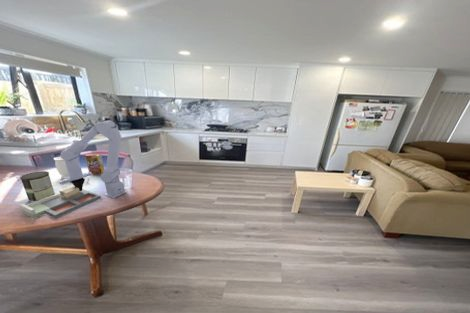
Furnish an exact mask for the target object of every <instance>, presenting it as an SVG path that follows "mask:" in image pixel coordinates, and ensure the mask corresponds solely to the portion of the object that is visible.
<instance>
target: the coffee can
mask: <svg viewBox="0 0 470 313" xmlns="http://www.w3.org/2000/svg"><path fill="white" fill-rule="evenodd" d="M19 179H20V181H21V183H22V186H23V189H24V191H25V193H26V196H27V199H28V201H29V202H30V203H32V202H35V201H38V200H41V199H44V198H47V197H50V196H52V195H55V194H56V192H55V189H54V186H53V184H52V180H51V176H50V172H49V171H44V170H43V171H42V170H40V171H34V172H29V173H26V174H23V175H21V176H20V177H19Z"/></svg>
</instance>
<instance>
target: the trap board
mask: <svg viewBox="0 0 470 313" xmlns="http://www.w3.org/2000/svg"><path fill="white" fill-rule="evenodd" d="M101 199H102V196H101V195H100V194H97V193H95V192H91V191H89V190H86V189H84V188H82V191H80V195H78V196H75V197H72V198H70V199H65V198H63V197H61V195H60V192H59V193H55V195H52V196H50V197H47V198H44V199H41V200H38V201H35V202H30V203H27V204H24V203H21V204H19V206H20V208H21V211H22V214H24V215H27V216H29V217H30V218H32V219H37V218H39V217H41V216H43V215H48V216H50V217H51V218H54V219H56V220H57V219H58V218H60V217H63V216H65V215H68V214H70V213H72V212H74V211H77V210H78V209H81V208H83V207H86V206H88V205H89V204H93V203H95V202H97V201H98V200H101Z"/></svg>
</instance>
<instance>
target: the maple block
mask: <svg viewBox="0 0 470 313" xmlns="http://www.w3.org/2000/svg"><path fill="white" fill-rule="evenodd" d="M58 191H59V193H60V195H61V197H63V198H65V199H70V198H72V197H75V196H78V195H80V191H79V188H77V187H75V186H74V185H72V186H71V185H70V186H68V187H65V188H62V189H59V190H58Z"/></svg>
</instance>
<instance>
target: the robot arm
mask: <svg viewBox="0 0 470 313" xmlns="http://www.w3.org/2000/svg"><path fill="white" fill-rule="evenodd" d="M98 135H102V136H104V137H105V138H107V139H108V140H109V141H108V142H109V143H108V148H107V150H108V151H107V157H106V158H107V159H106V165H105V167H104V171H103V174H100V179H101V181H102V182H103V183H104V186H105V191H106V192H104V193H103V195H104V196H106V197H110V198H112V199H115V198H117V197H119V196H122V195H123V194H125V193H127V190H126V189H125V184H124V183H123V181H121V180H120V174H121V171H120V166H119V165H118V164H119V156H120V151H121V150H120V149H121V145H122V143H121V142H122V135H121V133H120V130H119V126H118V124H116V123H115V121H112V120H106V121H98V122H96V124H95V125H93V126H92V127H91V128H90V129H89V130H88V131H87V132H86V133H85V134H84V136H83V137H82V138H77V139H74V140H72V143H71V144H70V145H68V146H67V147H66V149H63V150H61V151H60V153H59V154H60V155H59V156H61V158H62V159H64V160H65V163H66V167H67V170H68V174H69V177H68V178H66V179H61V180H59V181H58V183H59V185H61V186H62V185H65V184H68V183H71V184H72V186H74V187H77V188H79V191H82V189H83V186H84V183H85V182H86V180H85V178H86V177H91V176H93V174H92V172H89V171H88V172H83V170H82V166H81V163H80V156H81V153H82V152H84V151H85V150H86V148H87V149H88V147H89V142H91V141H92V140H93V139H94V138H96V136H98Z"/></svg>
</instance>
